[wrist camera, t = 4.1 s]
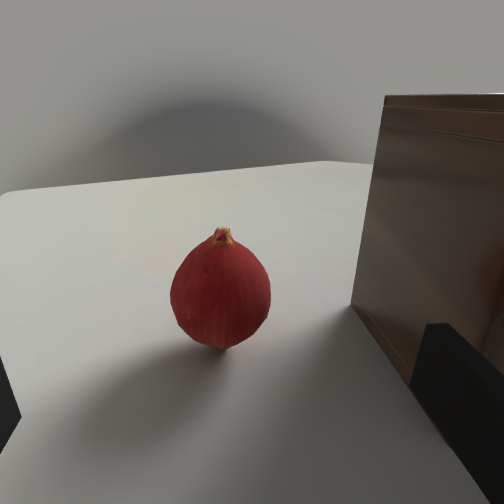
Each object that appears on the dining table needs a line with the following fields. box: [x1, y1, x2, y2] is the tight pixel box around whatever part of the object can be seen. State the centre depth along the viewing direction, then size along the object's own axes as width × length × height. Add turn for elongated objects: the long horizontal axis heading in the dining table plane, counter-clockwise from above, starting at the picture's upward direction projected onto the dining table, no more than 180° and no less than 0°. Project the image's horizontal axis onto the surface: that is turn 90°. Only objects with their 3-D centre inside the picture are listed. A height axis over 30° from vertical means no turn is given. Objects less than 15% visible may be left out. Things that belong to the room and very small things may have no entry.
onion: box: [170, 227, 271, 350], centre depth 20 cm, size 6×6×8 cm
